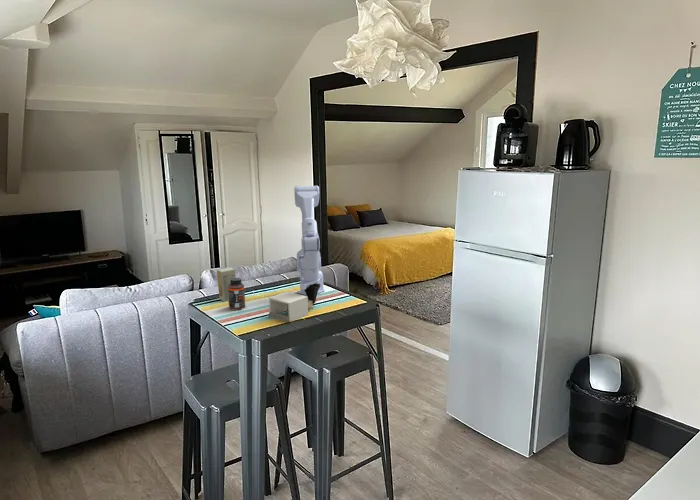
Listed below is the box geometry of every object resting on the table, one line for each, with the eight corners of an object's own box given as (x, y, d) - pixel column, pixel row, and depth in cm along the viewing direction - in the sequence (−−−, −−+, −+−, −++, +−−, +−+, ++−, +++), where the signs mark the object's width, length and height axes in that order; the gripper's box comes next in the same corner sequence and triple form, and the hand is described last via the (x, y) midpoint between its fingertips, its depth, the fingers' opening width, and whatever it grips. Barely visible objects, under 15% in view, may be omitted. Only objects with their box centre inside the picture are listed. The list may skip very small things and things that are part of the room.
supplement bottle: (241, 311, 178) (239, 281, 176) (226, 310, 179) (224, 280, 177) (247, 305, 184) (246, 277, 181) (233, 305, 185) (231, 276, 183)
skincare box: (233, 296, 196) (231, 267, 194) (238, 298, 193) (236, 269, 190) (218, 299, 192) (216, 269, 190) (222, 301, 189) (220, 271, 187)
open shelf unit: (287, 309, 179) (287, 291, 178) (308, 314, 173) (307, 296, 172) (267, 316, 172) (267, 297, 171) (288, 322, 166) (287, 303, 164)
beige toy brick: (305, 306, 183) (305, 294, 182) (312, 308, 180) (312, 296, 179) (287, 312, 176) (286, 299, 175) (294, 314, 173) (293, 301, 172)
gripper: (310, 263, 187) (311, 296, 190) (292, 271, 174) (293, 307, 177) (326, 264, 184) (327, 298, 187) (309, 273, 171) (310, 309, 174)
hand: (312, 303), depth 182 cm, fingers closed
